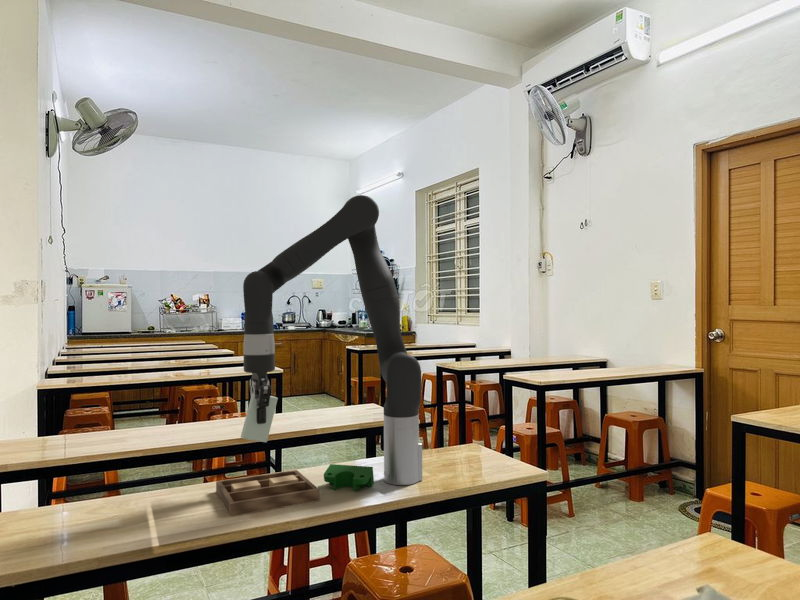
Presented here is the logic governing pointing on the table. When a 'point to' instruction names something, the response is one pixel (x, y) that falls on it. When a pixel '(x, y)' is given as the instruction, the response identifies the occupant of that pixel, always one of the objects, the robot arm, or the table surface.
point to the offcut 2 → (282, 480)
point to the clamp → (349, 476)
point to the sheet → (251, 426)
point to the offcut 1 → (245, 486)
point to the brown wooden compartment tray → (266, 493)
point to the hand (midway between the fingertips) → (260, 422)
